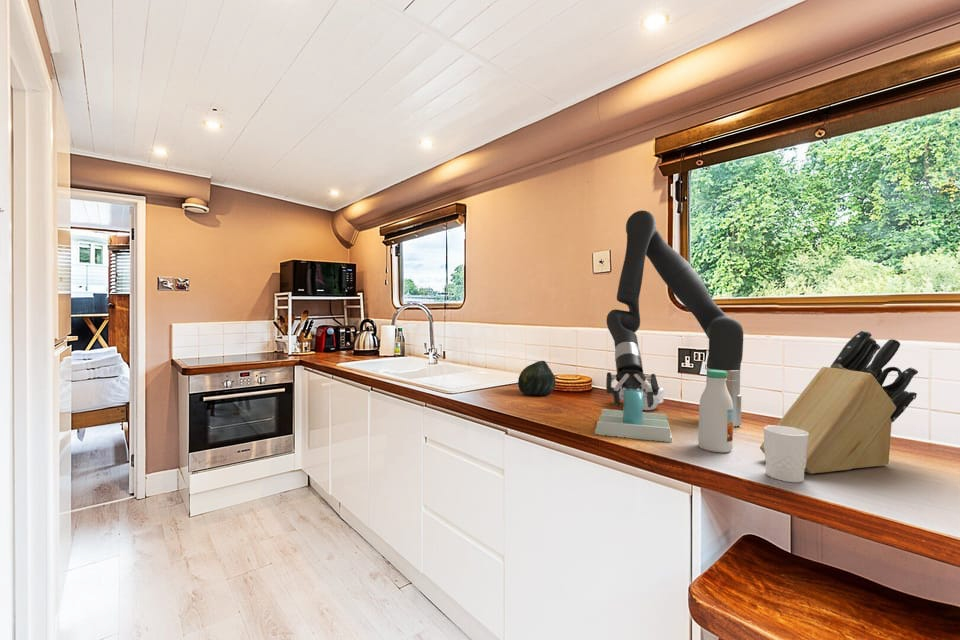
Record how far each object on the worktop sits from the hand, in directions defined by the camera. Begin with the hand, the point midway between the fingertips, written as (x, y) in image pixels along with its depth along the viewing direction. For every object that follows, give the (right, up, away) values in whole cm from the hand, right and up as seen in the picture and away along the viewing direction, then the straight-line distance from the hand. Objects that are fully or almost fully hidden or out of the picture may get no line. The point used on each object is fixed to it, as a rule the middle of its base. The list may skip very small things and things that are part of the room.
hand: (634, 405), depth 125 cm
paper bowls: (+14, -8, +35) cm, 39 cm away
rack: (+1, -8, +5) cm, 10 cm away
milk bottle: (+17, -9, -11) cm, 22 cm away
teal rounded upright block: (0, -7, +1) cm, 7 cm away
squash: (-20, -7, +57) cm, 61 cm away
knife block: (+41, -10, -21) cm, 47 cm away
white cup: (+22, -10, -30) cm, 38 cm away
